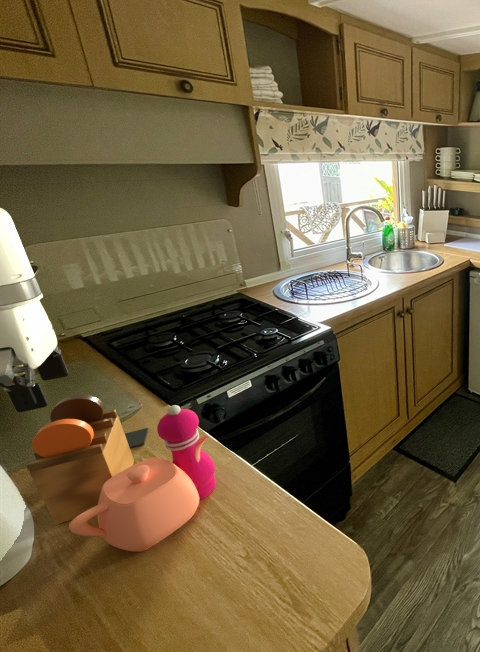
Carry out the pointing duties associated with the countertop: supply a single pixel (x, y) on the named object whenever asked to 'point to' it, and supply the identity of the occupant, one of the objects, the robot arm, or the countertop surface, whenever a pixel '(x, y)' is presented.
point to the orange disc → (62, 437)
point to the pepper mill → (187, 448)
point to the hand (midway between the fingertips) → (45, 392)
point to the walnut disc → (78, 409)
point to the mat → (136, 437)
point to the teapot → (142, 504)
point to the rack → (82, 470)
